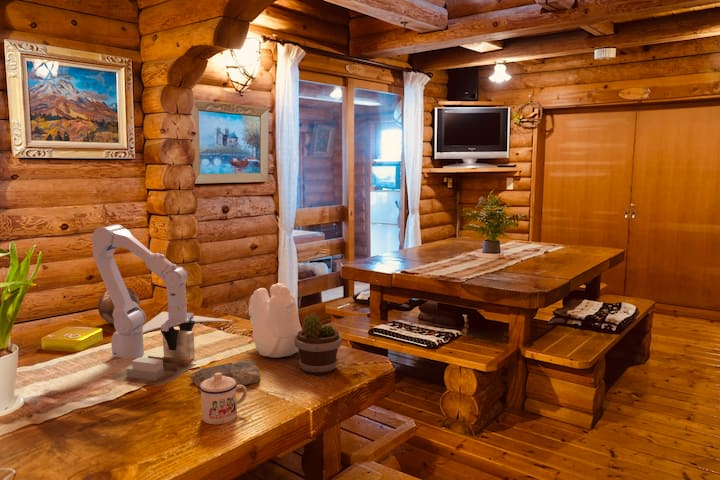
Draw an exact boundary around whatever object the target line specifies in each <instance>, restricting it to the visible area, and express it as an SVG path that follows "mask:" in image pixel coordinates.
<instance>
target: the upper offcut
mask: <svg viewBox="0 0 720 480" xmlns="http://www.w3.org/2000/svg"><path fill="white" fill-rule="evenodd" d="M131 363H132V364H131V366H132V369H135V370H143V371H150V372H157V371H158V370H160V369H162V368H163V360H161V359H153V358H148V357H144V356H141V357H138V358H134V359H133V360H132V361H131Z"/></svg>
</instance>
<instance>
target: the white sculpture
mask: <svg viewBox="0 0 720 480" xmlns="http://www.w3.org/2000/svg"><path fill="white" fill-rule="evenodd" d="M269 294H270V296H269ZM248 315H249V316H250V317H249V321H250V323H251V324H250V325H251V326H252V328H253V330H252V338H253V342H254V345H255V348H256V350H257V352H258V354H259V355H261V356H263V357H269V358H284V357H289V356H290V357H291V356H292V355H294V354H295V353H298V352H299V351H298V348H297V347H296V346H295V343H294V340H295V337H296V336H297V335H298V332H299V331H302V330H303V327H302V326H301V324H300V320H299V318H298V312H297V303H296V298H295V296H294V294H292V293H291V290H290V289H289V287H287V285H285V284H284V283H281V282H277V283H275V284H271V286H270V288H269V292H268V290H267V288H265V287H260V288H258V289H255V290H254V291H253V294H251V296H250V298H249V305H248Z"/></svg>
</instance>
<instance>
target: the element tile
mask: <svg viewBox="0 0 720 480" xmlns="http://www.w3.org/2000/svg"><path fill="white" fill-rule="evenodd" d="M103 331H104V330H103V328H101V327H91V326H90V327H88V326H69V325H68V326H65V327H63V328H61V329H58V330H56V331H54V332H51V333H49V334H47V335H44V336H42V337H41V339H40V340H41V349H42V350H44V351H56V352H73V353H75V352H76V353H77V352H81V351H83V350H85V349H87V348H89V347H92V346H94V345H95V344H97V343H99V342H101V341H103V340H104V332H103Z"/></svg>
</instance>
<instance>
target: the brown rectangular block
mask: <svg viewBox="0 0 720 480" xmlns="http://www.w3.org/2000/svg"><path fill="white" fill-rule="evenodd" d="M178 330H179V332H178V335H177V346H176V350H169V347H168V344H167V341H166V339H165V337H164V336H163V335H162V349H163V351H162V352H163V358H170V359H178V360H188V361H191V360H193V359H195V357H196V354H195V353H196V352H195V351H196V350H195V332H194V331H183V330H180V329H178Z"/></svg>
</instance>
